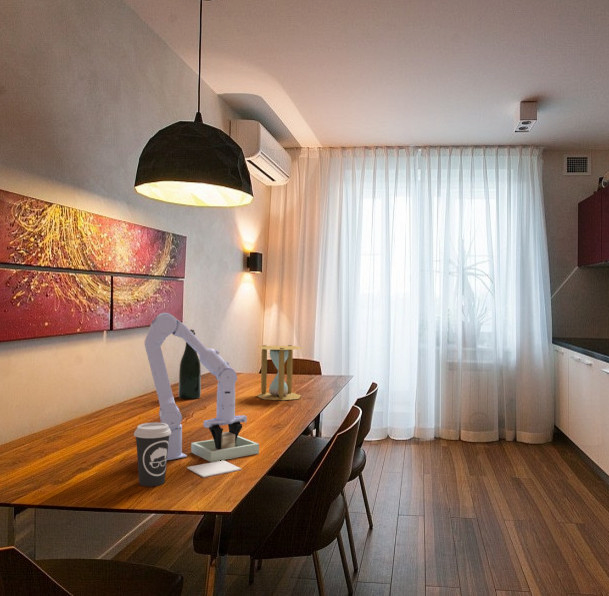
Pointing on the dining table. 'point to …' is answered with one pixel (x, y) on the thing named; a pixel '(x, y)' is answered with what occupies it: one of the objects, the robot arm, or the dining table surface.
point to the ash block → (227, 440)
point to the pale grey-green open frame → (206, 447)
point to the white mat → (213, 468)
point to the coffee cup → (152, 452)
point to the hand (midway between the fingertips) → (225, 447)
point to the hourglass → (278, 385)
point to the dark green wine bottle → (189, 374)
